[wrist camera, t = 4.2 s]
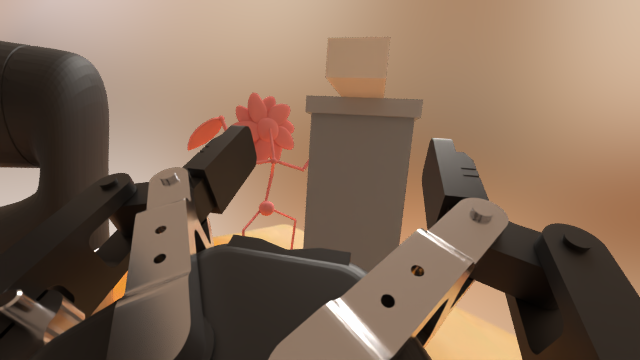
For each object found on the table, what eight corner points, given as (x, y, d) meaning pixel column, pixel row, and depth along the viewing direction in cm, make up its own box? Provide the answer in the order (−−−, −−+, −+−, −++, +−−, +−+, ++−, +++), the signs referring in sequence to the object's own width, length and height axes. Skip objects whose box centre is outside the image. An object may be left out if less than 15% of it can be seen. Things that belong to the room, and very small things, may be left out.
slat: (386, 78, 17) (390, 37, 17) (325, 77, 18) (328, 37, 18) (381, 113, 38) (383, 95, 38) (354, 112, 39) (355, 94, 39)
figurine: (334, 277, 54) (345, 100, 49) (199, 321, 39) (195, 74, 34) (296, 250, 67) (302, 107, 62) (181, 276, 51) (177, 89, 47)
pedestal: (385, 400, 29) (423, 99, 24) (290, 375, 31) (306, 95, 26) (383, 322, 42) (407, 114, 37) (315, 308, 44) (329, 110, 39)
